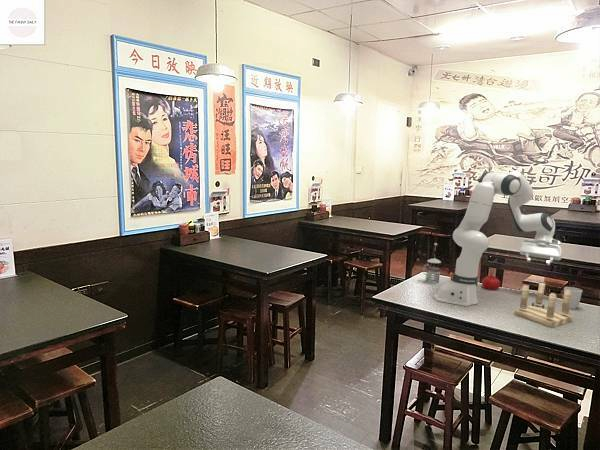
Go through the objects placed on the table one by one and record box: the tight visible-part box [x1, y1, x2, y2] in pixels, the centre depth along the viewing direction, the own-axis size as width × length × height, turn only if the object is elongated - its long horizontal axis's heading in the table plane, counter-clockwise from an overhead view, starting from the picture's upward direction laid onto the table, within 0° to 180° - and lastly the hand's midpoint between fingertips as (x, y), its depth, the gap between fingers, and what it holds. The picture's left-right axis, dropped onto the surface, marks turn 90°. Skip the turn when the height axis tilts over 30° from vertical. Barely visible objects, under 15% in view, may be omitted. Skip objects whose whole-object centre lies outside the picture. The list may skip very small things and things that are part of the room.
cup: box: [563, 286, 583, 310], centre depth 220 cm, size 8×8×10 cm
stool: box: [513, 284, 574, 329], centre depth 203 cm, size 18×18×16 cm
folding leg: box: [534, 280, 547, 305], centre depth 215 cm, size 3×3×12 cm
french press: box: [422, 242, 442, 287], centre depth 254 cm, size 10×12×25 cm
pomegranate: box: [481, 272, 501, 291], centre depth 249 cm, size 10×10×9 cm
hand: (538, 262), depth 229 cm, fingers open, 8 cm apart
